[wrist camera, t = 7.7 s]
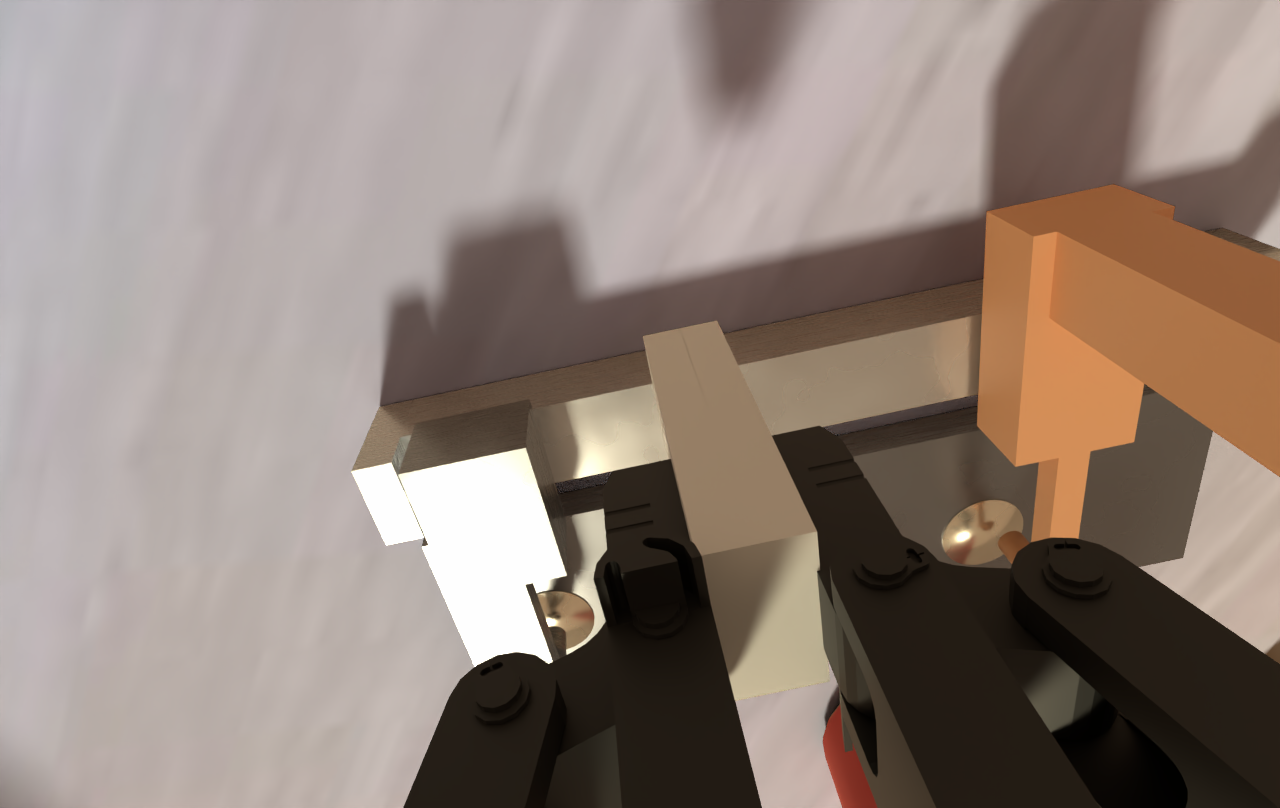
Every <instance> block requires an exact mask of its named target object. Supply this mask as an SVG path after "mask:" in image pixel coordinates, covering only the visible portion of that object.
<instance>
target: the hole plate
mask: <svg viewBox="0 0 1280 808" xmlns="http://www.w3.org/2000/svg"><path fill="white" fill-rule="evenodd" d="M977 412H978V406H976V407H971V408H967V409H962V410H957V411H952V412H948V413H943V414H938V415H933V416H929V417H924V418H919V419H914V420H909V421H905V422H900V423H895V424H890V425H886V426H881V427H876V428H871V429H867V430H862V431H857V432H852V433H847V434H843V435H838V436H837V437H839V438H840V439H842V440H843V442H844V444H845V445H846V447H847V448H848V450H849V452H850V453H851V455H852V456H853V458H854V462H856V463H857V464H858V466H859V468H860V469H861V471H862V472H863V474H864V478H866V479H867V480H868V482H869V484H870V485H871V487H872V488H873V490H874V491H875V493H876V495H877V496H878V498H879V499H880V501H881V503H882V504H883V506H884V507H885V509H886V511H887V512H888V514H889V515H890V517H891V519H892V520H893V522H894V523H895V525H896V527H897V528H898V530H899V531H900V533H901V535H902V536H903V537H906V538H908V539H911V540H913V541H915V542H917V543H919V544H921V545H923V546H925V547H926V548H927V549H928V550H929V551H930V552H931V553H932V554H933V555H934V556H935V557H936V558H937V560H938V561H941V562H944V563H948V564H952V565H958V566H967V567H986V568H1011V565H1012V564H1011V563H1010V561H1009V560H1008V559H1007V558H1006V556H1005V555H1004V554H1003V552H1002V551H1001V550H1000V548H999V547H998V541H999V539H1000V538H1001V536H1002V535H1004V534H1005V533H1007V532H1010V531H1018V532H1020V533H1022V535H1023V536H1024V537H1025V538H1026V539H1027V541H1028V542H1029V543H1031V538H1032V528H1033V518H1034V507H1035V497H1036V487H1037V477H1038V467H1039V462H1037V463H1032V464H1027V465H1022V466H1017V467H1015V466H1014V465H1013V464H1012V463H1011V462H1010V461H1009V459H1008V458H1007V457H1006V456H1005V455H1004V454H1003V453H1002V452H1001V451H1000V450H999V449H998V448H997V447H996V446H995V445H994V443H993V442H992V441H991V440H990V439H989V438H988V437H987V436H986V435H985V434H984V433H983V432H982V431H981V430H980V428H979V427H978V426H977ZM1212 432H1213V431H1212V430H1211V429H1209V428H1208V427H1207V426H1205V425H1204V424H1202V423H1201V422H1199V421H1198V420H1196V419H1195V418H1193V417H1192V416H1191V415H1189V414H1188V413H1186V412H1185V411H1183V410H1182V409H1180V408H1179V407H1178V406H1176V405H1175V404H1173V403H1172V402H1170V401H1169V400H1167V399H1166V398H1164V397H1163V396H1162V395H1160V394H1159V393H1157V392H1156V391H1154V390H1153V389H1151V388H1150V387H1148V386H1147V385H1146V384H1144V388H1143V394H1142V400H1141V406H1140V411H1139V417H1138V423H1137V429H1136V434H1135V440H1134V442H1133V443H1128V444H1123V445H1118V446H1113V447H1109V448H1104V449H1099V450H1094V451H1091V452H1090V459H1089V466H1088V473H1087V480H1086V487H1085V494H1084V502H1083V509H1082V516H1081V523H1080V530H1079V537H1078V539H1081V540H1085V541H1089V542H1093V543H1097V544H1100V545H1102V546H1104V547H1106V548H1108V549H1110V550H1112V551H1114V552H1116V553H1118V554H1120V555H1121V556H1123V557H1124V558H1126V559H1127V560H1129V561H1130V562H1132V563H1133V564H1134V565H1136V566H1137V567H1141V566H1146V565H1151V564H1156V563H1160V562H1165V561H1170V560H1175V559H1180V558H1183V555H1184V551H1185V547H1186V543H1187V538H1188V534H1189V530H1190V526H1191V521H1192V517H1193V513H1194V509H1195V504H1196V500H1197V496H1198V492H1199V487H1200V483H1201V479H1202V475H1203V470H1204V466H1205V462H1206V458H1207V454H1208V449H1209V445H1210V441H1211V437H1212ZM605 485H606V484H604V485H599V486H595V487H590V488H585V489H580V490H576V491H571V492H566V493H561V494H559V497H560V500H561V503H562V507H563V510H564V513H565V516H566V520H567V576H563V577H559V578H554V579H549V580H544V581H539V582H535V583H533V584H534V587H535V590H536V592H537V595H538V598H539V601H540V604H541V607H542V609H543V612H544V615H545V618H546V621H547V623H548V626H549V627H550V626H558V627H561V628H563V629H564V630H565V632H566V653H567V654H569V653H571V652H573V651H575V650H576V649H578V648H580V647H581V646H583V645H584V644H586V643H587V642H588V641H589V640H590V639H592V638H593V637H594V636H595V635H596V634H597V633H598V632H599V630H600V629H601V627H602V626H603V625H604V623H605V622H606V621H605V617H604V614H603V610H602V607H601V604H600V600H599V597H598V593H597V590H596V586H595V583H594V580H593V578H594V573H595V568H596V564H597V562H598V561H599V560H600V558H601V557H602V556H603V554H604V553H605V552H606V550H607V543H606V531H605V520H604V517H605V516H604V508H603V497H602V491H603V489H604V487H605ZM422 548H423V551H424V553H425V555H426V557H427V560H428V562H429V564H430V566H431V569H432V571H433V573H434V575H435V578H436V580H437V582H438V585H439V587H440V589H441V591H442V594H443V596H444V598H445V600H446V603H447V605H448V607H449V609H450V612H451V614H452V616H453V618H454V621H455V623H456V625H457V627H458V630H459V632H460V634H461V637H462V639H463V641H464V643H465V646H466V648H467V650H468V652H469V655H470V657H471V659H472V661H473V664H474V666H476V665H478V664H480V663H482V662H484V661H486V660H488V659H490V658H492V657H494V656H496V655H501V654H506V653H512V652H518V650H517V647H516V645H515V642H514V640H513V637H512V634H511V632H510V629H509V627H508V624H507V622H506V619H505V617H504V614H503V612H502V609H501V606H500V604H499V601H498V599H497V596H496V594H495V591H491V592H487V593H482V594H477V595H472V596H467V597H462V598H458V599H453V600H452V597H451V595H450V593H449V590H448V588H447V586H446V583H445V581H444V579H443V577H442V574H441V572H440V570H439V567H438V565H437V563H436V561H435V558H434V556H433V554H432V551H431V549H430V547H429V544H428V542H427V540H426V538H425V536H424V540H423V544H422Z"/></svg>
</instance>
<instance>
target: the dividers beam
mask: <svg viewBox="0 0 1280 808" xmlns="http://www.w3.org/2000/svg"><path fill="white" fill-rule="evenodd" d="M1205 233H1208V234H1211V235H1213V236H1216V237H1218V238H1221V239H1223V240H1226V241H1229V242H1231V243H1234V244H1236V245H1239V246H1241V247H1244V248H1247V249H1249V250H1252V251H1254V252H1257V253H1259V254H1262V255H1265V256H1267V257H1270V258H1272V259H1275V260H1278V261H1280V249H1278V248H1276V247H1273V246H1270V245H1268V244H1265V243H1262V242H1260V241H1257V240H1254V239H1252V238H1249V237H1246V236H1243V235H1241V234H1238V233H1235V232H1233V231H1230V230H1227V229H1225V228H1219V229H1215V230H1210V231H1205ZM983 281H984V279H979V280H974V281H970V282H965V283H960V284H956V285H951V286H946V287H941V288H937V289H932V290H927V291H923V292H918V293H913V294H908V295H904V296H899V297H894V298H890V299H885V300H880V301H875V302H871V303H866V304H861V305H857V306H852V307H847V308H842V309H838V310H833V311H828V312H824V313H819V314H814V315H810V316H805V317H800V318H795V319H791V320H786V321H781V322H777V323H772V324H767V325H762V326H758V327H753V328H748V329H744V330H739V331H734V332H729V333H725V334H724V336H725V339H726V341H727V343H728V345H729V347H730V349H731V351H732V353H733V355H734V358H735V360H736V362H737V364H738V366H739V368H740V370H741V372H742V374H743V376H744V379H745V381H746V383H747V385H748V387H749V389H750V391H751V393H752V395H753V398H754V400H755V402H756V404H757V406H758V408H759V410H760V412H761V414H762V417H763V419H764V421H765V423H766V425H767V427H768V429H769V431H770V433H771V435H777V434H781V433H786V432H791V431H796V430H801V429H805V428H810V427H815V426H821V427H825V426H829V425H834V424H839V423H844V422H848V421H853V420H858V419H863V418H868V417H872V416H877V415H882V414H887V413H891V412H896V411H901V410H906V409H910V408H915V407H920V406H925V405H929V404H934V403H939V402H944V401H949V400H953V399H958V398H963V397H968V396H972V395H977V394H978V390H979V368H980V346H981V325H982V303H983ZM667 459H668V458H667V453H666V449H665V444H664V439H663V434H662V429H661V424H660V419H659V414H658V409H657V404H656V399H655V394H654V390H653V385H652V380H651V375H650V370H649V365H648V360H647V355H646V350H645V351H640V352H635V353H631V354H626V355H621V356H616V357H612V358H607V359H602V360H598V361H593V362H588V363H583V364H579V365H574V366H569V367H565V368H560V369H555V370H551V371H546V372H541V373H536V374H532V375H527V376H522V377H518V378H513V379H508V380H503V381H499V382H494V383H489V384H485V385H480V386H475V387H470V388H466V389H461V390H456V391H452V392H447V393H442V394H437V395H433V396H428V397H423V398H419V399H414V400H409V401H405V402H400V403H395V404H390V405H386V406H381V407H379V409H378V411H377V413H376V416H375V418H374V420H373V422H372V425H371V427H370V429H369V432H368V434H367V436H366V439H365V441H364V443H363V446H362V448H361V450H360V453H359V455H358V457H357V459H356V462H355V464H354V466H353V469H352V471H351V472H352V474H353V476H354V478H355V480H356V482H357V484H358V486H359V489H360V491H361V493H362V495H363V497H364V499H365V501H366V503H367V506H368V508H369V510H370V512H371V514H372V516H373V518H374V520H375V522H376V525H377V527H378V529H379V531H380V533H381V535H382V537H383V539H384V541H385V544H386V545H390V544H394V543H399V542H404V541H409V540H414V539H418V538H423V537H424V535H425V538H426V540H427V542H428V544H429V547H430V549H431V551H432V554H433V556H434V558H435V561H436V563H437V565H438V567H439V570H440V572H441V574H442V577H443V579H444V581H445V583H446V586H447V588H448V590H449V593H450V595H451V597H452V600H453V599H458V598H462V597H467V596H472V595H477V594H482V593H487V592H491V591H495V594H496V596H497V599H498V601H499V604H500V606H501V609H502V612H503V614H504V617H505V619H506V622H507V624H508V627H509V629H510V632H511V634H512V637H513V640H514V642H515V645H516V647H517V650H518V652H522V653H528V654H535V655H536V656H538V657H539V658H541V659H542V660H544V661H545V662H547V663H548V664H549V663H551V662H553V661H555V660H557V659H559V658H561V657H563V656H565V655H567V653H566V632H565V630H564V629H563V628H561V627H558V626H550V627H549V626H548V623H547V621H546V618H545V615H544V612H543V609H542V607H541V604H540V601H539V598H538V595H537V592H536V590H535V587H534V584H533V583H535V582H539V581H544V580H549V579H554V578H559V577H563V576H567V520H566V516H565V513H564V510H563V507H562V503H561V500H560V497H559V494H558V490H557V487H556V484H555V483H558V482H563V481H567V480H572V479H577V478H582V477H586V476H591V475H596V474H601V473H606V472H610V471H615V470H620V469H624V468H629V467H634V466H639V465H643V464H648V463H653V462H658V461H663V460H667Z"/></svg>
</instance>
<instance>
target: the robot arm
mask: <svg viewBox="0 0 1280 808" xmlns="http://www.w3.org/2000/svg"><path fill="white" fill-rule="evenodd" d="M643 340H644V345H645V350H646V355H647V360H648V365H649V370H650V375H651V380H652V385H653V390H654V394H655V399H656V404H657V409H658V414H659V419H660V424H661V429H662V434H663V439H664V444H665V449H666V453H667V458H668V459H667V460H663V461H658V462H653V463H648V464H643V465H639V466H634V467H629V468H624V469H620V470H615V471H612V473H611V475H610V477H609V479H608V481H607V483H606V485H605V487H604V489H603V491H602V497H603V508H604V516H605V517H604V520H605V531H606V543H607V550H606V552H605V553H604V554H603V556H602V557H601V558H600V560H599V561H598V562H597V564H596V568H595V573H594V578H593V580H594V583H595V586H596V590H597V593H598V597H599V600H600V604H601V607H602V610H603V614H604V617H605V621H606V622H605V623H604V625H603V626H602V627H601V629H600V630H599V632H598V633H597V634H596V635H595V636H594V637H593V638H592V639H590V640H589V641H588V642H587V643H586V644H584V645H583V646H581V647H580V648H578V649H576V650H575V651H573V652H571V653H569V654H567V655H565V656H563V657H561V658H559V659H557V660H555V661H553V662H551V663H549V664H548V663H547V662H545V661H544V660H542V659H541V658H539V657H538V656H536V655H535V654H528V653H522V652H512V653H506V654H501V655H496V656H494V657H492V658H490V659H488V660H486V661H484V662H482V663H480V664H478V665H476V666H475V667H474V668H473V669H472V670H471V671H469V672H468V673H467V674H466V675H465V676H464V677H463V678H461V679H460V681H459V682H458V684H457V686H456V687H455V689H454V690H453V692H452V693H451V695H450V697H449V699H448V701H447V704H446V706H445V709H444V711H443V713H442V716H441V718H440V721H439V723H438V725H437V728H436V730H435V733H434V735H433V737H432V740H431V742H430V745H429V747H428V750H427V752H426V754H425V757H424V759H423V762H422V764H421V766H420V769H419V771H418V774H417V776H416V779H415V781H414V783H413V786H412V788H411V791H410V793H409V795H408V798H407V800H406V803H405V805H404V807H403V808H762V806H761V802H760V798H759V794H758V790H757V786H756V782H755V778H754V774H753V771H752V767H751V763H750V759H749V755H748V751H747V747H746V743H745V739H744V735H743V731H742V727H741V723H740V719H739V715H738V711H737V707H736V703H735V701H737V700H742V699H747V698H751V697H756V696H761V695H766V694H771V693H776V692H781V691H785V690H790V689H795V688H800V687H805V686H810V685H814V684H819V683H824V682H829V681H830V678H829V666H828V660H829V663H830V665H831V668H832V670H833V673H834V675H835V678H836V680H837V683H838V685H839V694H840V708H841V721H842V734H843V742H844V749H845V752H848V751H853V745H854V748H855V750H856V753H857V756H858V758H859V761H860V763H861V766H862V769H863V771H864V774H865V776H866V779H867V782H868V784H869V787H870V789H871V792H872V795H873V797H874V800H875V802H876V805H877V808H1280V664H1279V663H1277V662H1276V661H1274V660H1273V659H1271V658H1270V657H1268V656H1267V655H1266V654H1264V653H1263V652H1261V651H1260V650H1258V649H1257V648H1255V647H1254V646H1252V645H1251V644H1250V643H1248V642H1247V641H1245V640H1244V639H1242V638H1241V637H1239V636H1238V635H1236V634H1235V633H1234V632H1232V631H1231V630H1229V629H1228V628H1226V627H1225V626H1223V625H1222V624H1220V623H1219V622H1218V621H1216V620H1215V619H1213V618H1212V617H1210V616H1209V615H1207V614H1206V613H1204V612H1203V611H1201V610H1200V609H1199V608H1197V607H1196V606H1194V605H1193V604H1191V603H1190V602H1188V601H1187V600H1185V599H1184V598H1183V597H1181V596H1180V595H1178V594H1177V593H1175V592H1174V591H1172V590H1171V589H1169V588H1168V587H1167V586H1165V585H1164V584H1162V583H1161V582H1159V581H1158V580H1156V579H1155V578H1153V577H1152V576H1151V575H1149V574H1148V573H1146V572H1145V571H1143V570H1142V569H1140V568H1139V567H1137V566H1136V565H1134V564H1133V563H1132V562H1130V561H1129V560H1127V559H1126V558H1124V557H1123V556H1121V555H1120V554H1118V553H1116V552H1114V551H1112V550H1110V549H1108V548H1106V547H1104V546H1102V545H1100V544H1097V543H1093V542H1089V541H1085V540H1081V539H1077V538H1055V537H1051V538H1047V539H1043V540H1038V541H1034V542H1031V543H1029V544H1028V545H1027V546H1025V547H1024V548H1022V549H1021V550H1019V551H1018V552H1017V554H1016V556H1015V558H1014V561H1013V563H1012V565H1011V568H986V567H967V566H958V565H952V564H948V563H944V562H941V561H938V560H937V558H936V557H935V556H934V555H933V554H932V553H931V552H930V551H929V550H928V549H927V548H926V547H925V546H923V545H921V544H919V543H917V542H915V541H913V540H911V539H908V538H906V537H903V536H902V535H901V533H900V531H899V530H898V528H897V527H896V525H895V523H894V522H893V520H892V519H891V517H890V515H889V514H888V512H887V511H886V509H885V507H884V506H883V504H882V503H881V501H880V499H879V498H878V496H877V495H876V493H875V491H874V490H873V488H872V487H871V485H870V484H869V482H868V480H867V479H866V478H864V474H863V472H862V471H861V469H860V468H859V466H858V464H857V463H856V462H854V458H853V456H852V455H851V453H850V452H849V450H848V448H847V447H846V445H845V444H844V442H843V440H842V439H840V438H839V437H837V436H836V435H834V434H832V433H831V432H829V431H827V430H826V429H824V428H823V427H821V426H815V427H810V428H805V429H801V430H796V431H791V432H786V433H781V434H777V435H771V433H770V431H769V429H768V427H767V425H766V423H765V421H764V419H763V417H762V414H761V412H760V410H759V408H758V406H757V404H756V402H755V400H754V398H753V395H752V393H751V391H750V389H749V387H748V385H747V383H746V381H745V379H744V376H743V374H742V372H741V370H740V368H739V366H738V364H737V362H736V360H735V358H734V355H733V353H732V351H731V349H730V347H729V345H728V343H727V341H726V339H725V336H724V334H723V332H722V330H721V328H720V326H719V324H718V322H717V321H712V322H707V323H702V324H698V325H693V326H688V327H683V328H679V329H674V330H669V331H665V332H660V333H655V334H650V335H646V336H643Z"/></svg>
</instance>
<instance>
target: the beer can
mask: <svg viewBox="0 0 1280 808" xmlns="http://www.w3.org/2000/svg"><path fill="white" fill-rule="evenodd" d="M823 746H824V752H825V757H826V760H827V763H828V766H829V769H830V772H831V775H832V778H833V781H834V784H835V787H836V790H837V793H838V796H839V799H840V802H841V805H842V808H877V805H876V802H875V800H874V797H873V795H872V792H871V789H870V787H869V784H868V782H867V779H866V776H865V774H864V771H863V769H862V766H861V763H860V761H859V758H858V756H857V753H856V750H855V748H854V745H853V751H848V752H845V749H844V742H843V734H842V721H841V708H840V704H839V705H838V707H837V708H836V709H835V711H834V712H833V713H832V715H831V716H830V718H829V720H828V723H827V726H826V730H825V733H824V736H823Z"/></svg>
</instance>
